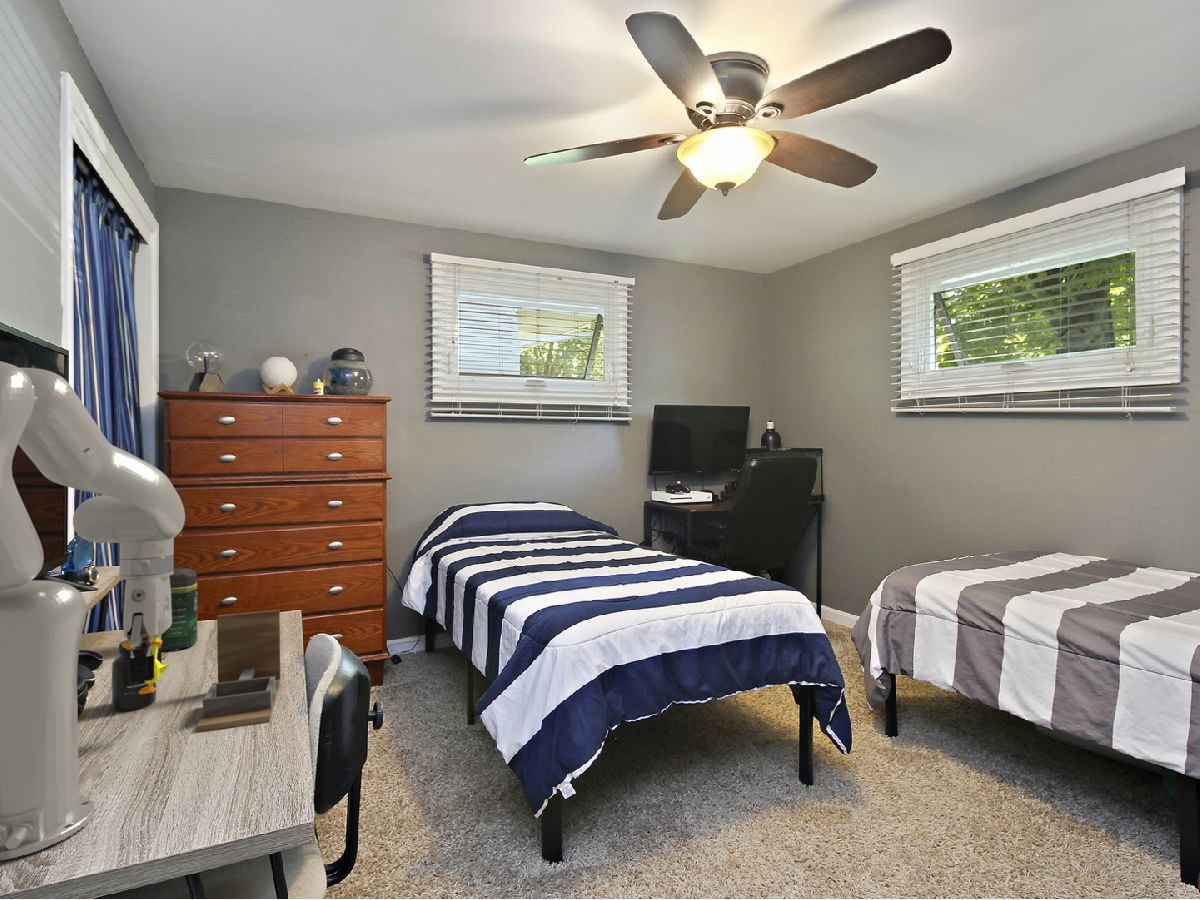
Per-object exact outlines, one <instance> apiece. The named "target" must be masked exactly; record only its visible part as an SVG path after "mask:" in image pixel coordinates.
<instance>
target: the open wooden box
mask: <svg viewBox="0 0 1200 900" xmlns="http://www.w3.org/2000/svg"><path fill="white" fill-rule="evenodd" d="M280 611H281V610H280V609H271V610H261V611H249V612H248V611H247V612H238V613H229V614H227V613H226V614H218V615H216V624H217V626H216V629H217V630H216V631H217V632H216V633H217V638H216V639H217V641H216V642H217V643H216V644H217V682H213V683H212V684H211V685H210V687H209V689H208V691H207V692H206V693H205V696H204V697H203V699H202V716H201V719H200V720H199V722H198V724H197V725H196V726H197V728H196V729H197V733H200V732H199V731H201V732H206V731H205V730H207V731H213V729H214V730H219V728H221V729H226V728H225V727H228V728H234V727H233V726H235V727H239V726H247V725H255V724H260V723H261V722H262V723H267V721H269V722H270V721H271V717H272V715H273V710H274V708H273V707H275V703H276V700H277V697H278V693H279V689H280V686H281V619H280V618H281V617H280V616H281V615H280V613H281V612H280ZM271 714H272V715H271ZM230 726H231V727H230Z"/></svg>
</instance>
